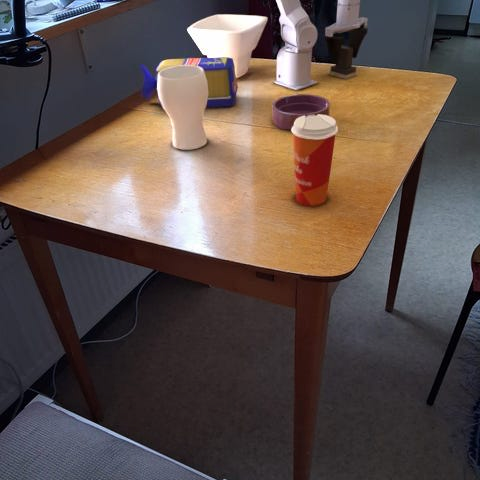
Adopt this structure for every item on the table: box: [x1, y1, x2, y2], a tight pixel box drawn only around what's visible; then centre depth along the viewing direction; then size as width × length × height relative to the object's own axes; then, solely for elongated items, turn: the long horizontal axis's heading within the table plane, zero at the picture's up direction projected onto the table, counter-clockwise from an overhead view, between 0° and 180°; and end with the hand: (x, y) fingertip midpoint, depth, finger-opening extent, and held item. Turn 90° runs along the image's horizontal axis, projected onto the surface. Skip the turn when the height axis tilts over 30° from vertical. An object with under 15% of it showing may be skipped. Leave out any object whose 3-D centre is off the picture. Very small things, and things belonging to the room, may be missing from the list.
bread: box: [139, 57, 239, 110], centre depth 125 cm, size 10×25×10 cm, turn 85°
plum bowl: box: [271, 93, 331, 132], centre depth 114 cm, size 13×13×4 cm
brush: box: [329, 45, 357, 80], centre depth 136 cm, size 6×4×7 cm, turn 38°
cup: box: [156, 65, 208, 151], centre depth 104 cm, size 11×11×15 cm
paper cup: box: [290, 114, 339, 207], centre depth 84 cm, size 8×8×14 cm
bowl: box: [187, 13, 269, 79], centre depth 138 cm, size 19×19×14 cm
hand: (343, 60), depth 136 cm, fingers open, 7 cm apart
